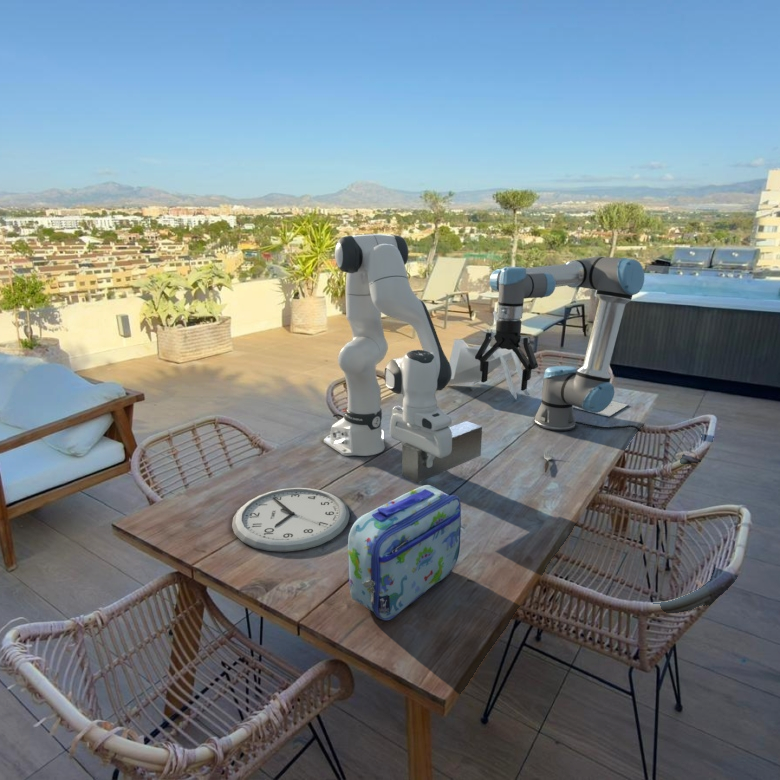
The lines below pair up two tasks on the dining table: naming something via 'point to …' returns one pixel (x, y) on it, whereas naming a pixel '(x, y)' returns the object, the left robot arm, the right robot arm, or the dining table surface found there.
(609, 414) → the invitation card
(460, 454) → the bar
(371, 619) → the dining table surface
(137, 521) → the dining table surface
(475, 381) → the white plastic object
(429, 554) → the lunch box
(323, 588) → the dining table surface
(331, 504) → the wall clock
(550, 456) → the fork
